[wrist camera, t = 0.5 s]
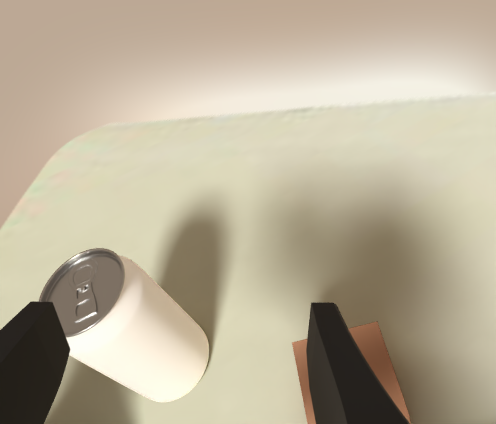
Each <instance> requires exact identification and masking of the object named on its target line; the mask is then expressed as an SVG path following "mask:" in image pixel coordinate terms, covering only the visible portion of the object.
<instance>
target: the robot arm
mask: <svg viewBox="0 0 496 424" xmlns="http://www.w3.org/2000/svg"><path fill="white" fill-rule="evenodd" d="M69 353H70V347H69V344H68V341H67V339H66V336H65V333H64V331H63V328H62V326H61V323H60V320H59V318H58V315H57V312H56V310H55V307H54V304H53V302H30V303H29V304H28V305H27V306H26V307H25V308H23V309H22V310H21V311H20V312H19V313H18V314H17V315H16V316H15V317H14V318H13V319H12V320H11V321H10V322H9V323H7V324H6V325H5V326H4V327H3V328H2V329H1V330H0V424H44V422H45V420H46V417H47V415H48V413H49V410H50V408H51V406H52V403H53V401H54V399H55V396H56V394H57V391H58V389H59V387H60V384H61V381H62V377H63V374H64V371H65V367H66V364H67V360H68V356H69ZM306 354H307V367H308V379H309V388H310V394H311V399H312V405H313V410H314V416H315V421H316V424H410V423H409V422H408V420H407V419H406V418H405V416H404V415H403V414H402V412H401V411H400V410H399V408H398V407H397V406H396V404H395V403H394V401H393V400H392V399H391V397H390V396H389V394H388V393H387V391H386V390H385V389H384V387H383V386H382V384H381V383H380V381H379V380H378V378H377V377H376V375H375V373H374V372H373V370H372V369H371V367H370V365H369V364H368V362H367V361H366V359H365V357H364V356H363V354H362V353H361V351H360V349H359V347H358V346H357V344H356V342H355V340H354V339H353V337H352V335H351V333H350V331H349V329H348V328H347V326H346V324H345V322H344V320H343V318H342V316H341V314H340V311H339V309H338V307H337V305H336V304H334V303H311V311H310V320H309V329H308V339H307V348H306Z"/></svg>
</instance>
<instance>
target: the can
mask: <svg viewBox="0 0 496 424" xmlns="http://www.w3.org/2000/svg"><path fill="white" fill-rule="evenodd" d="M39 302H53V304H54V307H55V310H56V312H57V315H58V318H59V320H60V323H61V326H62V328H63V331H64V333H65V336H66V339H67V341H68V344H69V347H70V353H69V355H70V356H72V357H73V358H75V359H77V360H79V361H80V362H82V363H84V364H86V365H87V366H89V367H91V368H93V369H95V370H96V371H98V372H100V373H102V374H104V375H105V376H107V377H109V378H111V379H113V380H115V381H116V382H118V383H120V384H122V385H124V386H125V387H127V388H129V389H131V390H133V391H135V392H136V393H138V394H140V395H142V396H144V397H146V398H148V399H150V400H153V401H156V402H169V401H173V400H176V399H178V398H180V397H182V396H184V395H185V394H187V393H188V392H189V391H191V390H192V389H193V388H194V387H195V385H196V384H197V383H198V382H199V380H200V379H201V377H202V375H203V374H204V372H205V369H206V366H207V363H208V359H209V344H208V340H207V337H206V335H205V333H204V331H203V330H202V328H201V327H200V326H199V325H198V324H197V323H196V322H195V321H194V320H193V319H192V318H191V317H190V316H189V315H188V314H187V313H186V312H185V311H184V310H183V309H182V308H181V307H180V306H179V305H178V304H177V303H176V302H175V301H174V300H173V299H172V298H171V297H170V296H169V295H168V294H167V293H166V292H165V291H164V290H163V289H162V288H161V287H160V286H159V285H158V284H157V283H156V282H155V281H154V280H153V279H152V278H151V277H150V276H149V275H148V274H147V273H146V272H145V271H144V270H143V269H142V268H140V267H139V266H138V265H137V264H136V263H135V262H133V261H132V260H130V259H128V258H126V257H123V256H119V255H117V254H116V253H114V252H113V251H111V250H108V249H103V248H96V249H90V250H86V251H84V252H81V253H79V254H77V255H75V256H73V257H72V258H70V259H69V260H67V261H66V262H65V263H64V264H62V265H61V266H60V267H59V268H58V269H57V270H56V271H55V272H54V274H53V275H52V276H51V277H50V279H49V280H48V282H47V283H46V285H45V287H44V289H43V291H42V293H41V296H40V299H39Z"/></svg>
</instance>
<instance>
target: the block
mask: <svg viewBox="0 0 496 424" xmlns="http://www.w3.org/2000/svg"><path fill="white" fill-rule="evenodd" d="M349 331H350V333H351V335H352V337H353V339H354V340H355V342H356V344H357V346H358V347H359V349H360V351H361V353H362V354H363V356H364V357H365V359H366V361H367V362H368V364H369V365H370V367H371V369H372V370H373V372H374V373H375V375H376V377H377V378H378V380H379V381H380V383H381V384H382V386H383V387H384V389H385V390H386V391H387V393H388V394H389V396H390V397H391V399H392V400H393V401H394V403H395V404H396V406H397V407H398V408H399V410H400V411H401V412H402V414H403V415H404V416H405V418H406V419H407V420H408V422H409V423H410V416H409V413H408V410H407V407H406V404H405V401H404V398H403V395H402V392H401V389H400V387H399V384H398V381H397V378H396V375H395V372H394V369H393V366H392V363H391V360H390V357H389V354H388V351H387V348H386V346H385V343H384V340H383V337H382V334H381V331H380V328H379V325H378V322H373V323H369V324H365V325H361V326H357V327H353V328H349ZM292 344H293V349H294V355H295V360H296V365H297V370H298V376H299V381H300V386H301V391H302V396H303V402H304V407H305V412H306V417H307V422H308V424H316V421H315V416H314V410H313V405H312V399H311V394H310V388H309V379H308V367H307V354H306V348H307V339H305V340H301V341H297V342H293V343H292ZM410 424H411V423H410Z"/></svg>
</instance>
